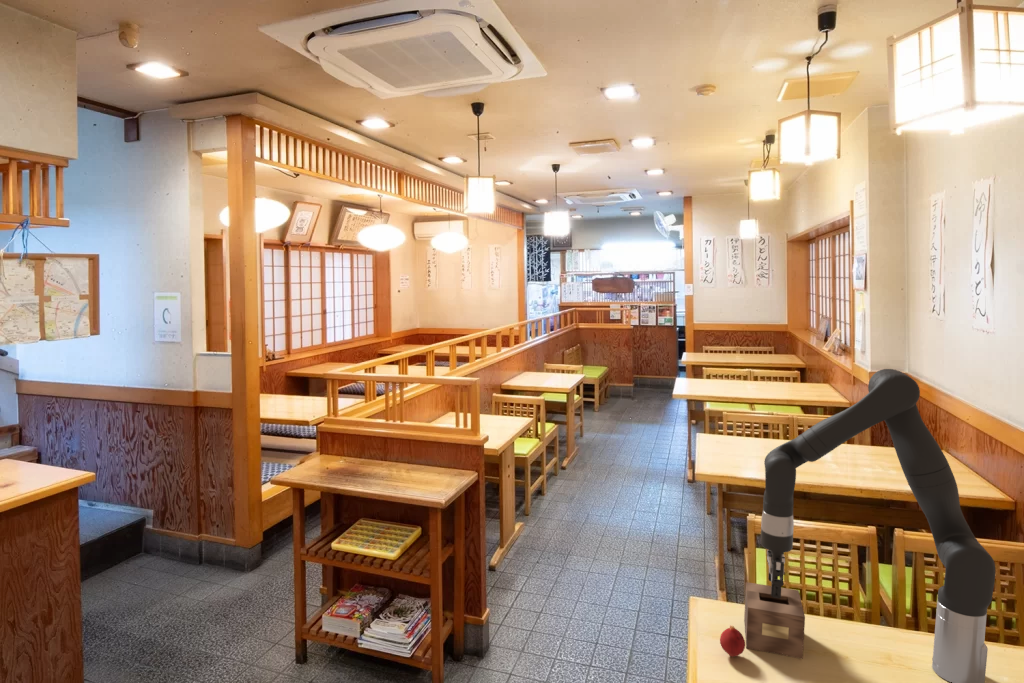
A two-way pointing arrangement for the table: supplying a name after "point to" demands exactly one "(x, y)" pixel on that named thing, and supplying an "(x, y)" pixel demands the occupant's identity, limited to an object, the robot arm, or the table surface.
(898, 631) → the table surface
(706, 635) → the table surface
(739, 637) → the red pomegranate
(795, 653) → the box
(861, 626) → the table surface
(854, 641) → the table surface
